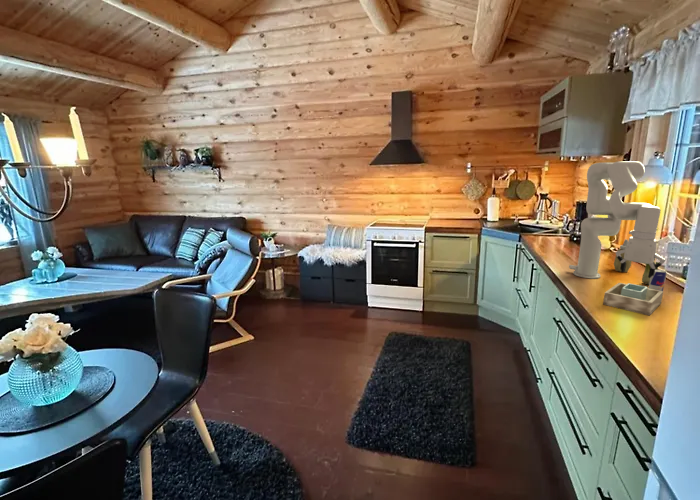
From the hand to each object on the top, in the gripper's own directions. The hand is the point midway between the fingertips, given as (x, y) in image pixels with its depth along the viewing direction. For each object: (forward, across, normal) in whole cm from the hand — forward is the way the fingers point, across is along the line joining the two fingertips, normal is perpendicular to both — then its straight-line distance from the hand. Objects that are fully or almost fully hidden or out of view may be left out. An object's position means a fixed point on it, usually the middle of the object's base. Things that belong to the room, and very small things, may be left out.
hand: (636, 274), depth 163 cm
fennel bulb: (+14, -1, +37) cm, 40 cm away
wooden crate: (+13, +1, -1) cm, 13 cm away
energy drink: (+14, +5, +19) cm, 24 cm away
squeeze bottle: (+15, -17, +55) cm, 60 cm away
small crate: (+12, +1, -1) cm, 12 cm away
